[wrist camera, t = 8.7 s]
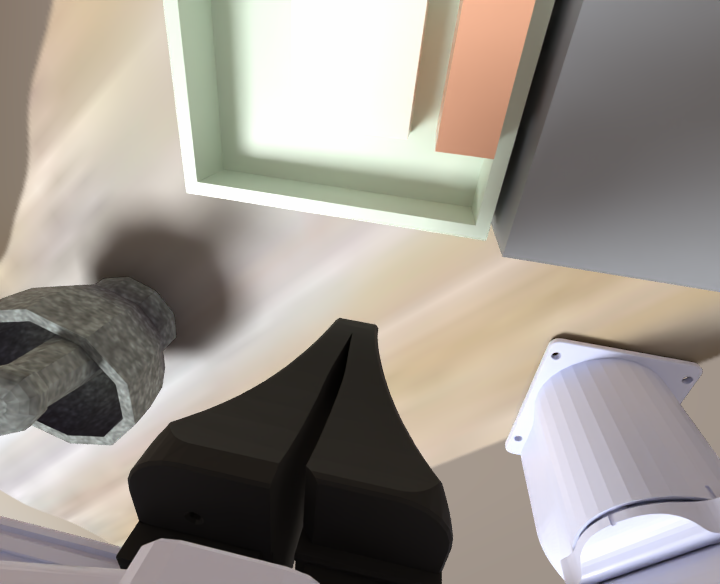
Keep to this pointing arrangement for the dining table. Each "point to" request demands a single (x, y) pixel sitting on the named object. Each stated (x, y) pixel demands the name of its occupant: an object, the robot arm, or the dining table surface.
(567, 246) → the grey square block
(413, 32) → the cream tile
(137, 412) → the mortar and pestle
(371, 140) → the green bin
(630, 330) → the dining table surface
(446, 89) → the terracotta tile
